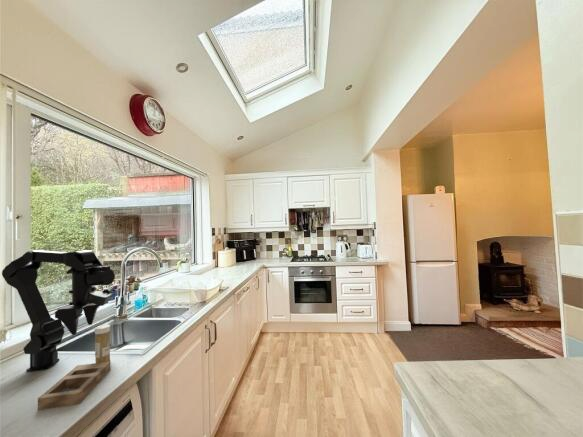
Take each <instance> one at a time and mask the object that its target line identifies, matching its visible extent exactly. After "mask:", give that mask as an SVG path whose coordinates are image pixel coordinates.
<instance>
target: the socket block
mask: <svg viewBox="0 0 583 437" xmlns="http://www.w3.org/2000/svg"><path fill="white" fill-rule="evenodd" d="M110 372H111V361H110V362H102V363H96V362H95V363H87V364H86V363H85V364H79V365H76V366H74V367H73V368H72V369H71V370H70V371H69V372H68V373H67V374H65V375H63V377H62V378H60V379H59V380H58V381H57V382H56V383H55V384H52V386H51V387H50V388H48V389H47V390H45V392H43V394H41V395H40V396H39V397H37V411H39V410H45V409H52V408H59V407H60V408H61V407H67V406H74V405H78V404H79V405H80V404H81V403H82V402H83V401H84V399H86V397H88V395H89V394H90V393H91V392H92V391H93V390H94V389H95V388H96V387H97V386H98V385H99V384H100V383H101V381H102V380H103V379H104V378H105V377H106V376H107V375H108V374H109V373H110ZM71 389H72V390H71ZM73 389H75V390H73ZM65 390H67V391H65ZM68 390H69V391H68Z"/></svg>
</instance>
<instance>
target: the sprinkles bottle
mask: <svg viewBox="0 0 583 437" xmlns="http://www.w3.org/2000/svg"><path fill="white" fill-rule="evenodd" d="M110 333H111V325H110V324H102V325H98V326H96V327H95V328H94V335H95V336H94V337H95V338H94V357H95V363H102V362H110V363H111V355H110V354H111V334H110Z"/></svg>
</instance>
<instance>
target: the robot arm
mask: <svg viewBox="0 0 583 437" xmlns="http://www.w3.org/2000/svg"><path fill="white" fill-rule="evenodd" d="M43 263H53V264H63V265H64V266H65V267H69V269H68V270H67V271H65V273H66V274H69V275H71V289H69V290H68V294H71V301H70V302H68V305H65V306H62V307H60V308H58V309H57V310H56V311H55V312H54V318H53V317H52V316H51V315H50V312H49V310H48V308H47V306H46V304H45V301H44V299H43V297H42V294H41V292H40V290H39V287H38V284H37V283H36V282H37V279H38V276H39V274H38V273H39V272H38V270H40V268H41V267H42V266H43ZM1 275H2V277H3V279H4V281H5V282H6V283H7V285H8V286H11V287H12V288H13V289H16V291H17V293H18V295H19V297H20V301H21V303H22V304H23V307H24V308H25V311H26V313H27V315H28V316H27V317H28V318H29V319H30V322H31V324H32V326H31V329H30V332H29V337H30V340H29V342H28V343H27V344H25V346H24V347H23V352H24V354H25V355H29V367H28V368H26V370H25V371H26V372H33V371H41V370H48V369H49V368H51V367H52V366H53V365H55V364H56V363H58V362H59V361H60V358H59V355H58V354H59V350H58V349H57V345H59V344H61V343H62V340H63V338H64V335H65V329H66V328H67V330H68V332H69V333H70V335H71V336H75V335H77V332H78V326H79V319H80V318H81V317H82V316H83V315H84V317H85V320H86V322H87V325H88V326H91V325H93V323H94V319H95V316H96V314H97V310H98V309H99V308H100V307H101V306H105V305H106V304H109V302H110V300H111V299H112V298H113V293H112V290H111V289H110V288H105V289H104V290H100V291H99V290H97V287H96V286H110V285H111V284H112V283H113V282H114V281H115V279H116V275H115V272H114V271H113V269H111V265H103V264H102V263H101V261H100V260H99V258H98V256H96V254H95V252H94V250H90V249H87V250H85V249H84V250H77V251H58V250H57V251H55V250H54V251H53V250H43V249H36V250H28V251H26V252H25V253H23V254H22V256H19V257H18V258H16V259H14V260H12V261H10V263H9V264H7V265H6V266H5V267H4V268H3V269H2V271H1Z"/></svg>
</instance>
